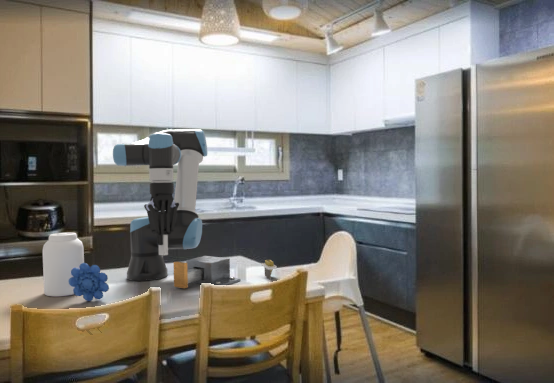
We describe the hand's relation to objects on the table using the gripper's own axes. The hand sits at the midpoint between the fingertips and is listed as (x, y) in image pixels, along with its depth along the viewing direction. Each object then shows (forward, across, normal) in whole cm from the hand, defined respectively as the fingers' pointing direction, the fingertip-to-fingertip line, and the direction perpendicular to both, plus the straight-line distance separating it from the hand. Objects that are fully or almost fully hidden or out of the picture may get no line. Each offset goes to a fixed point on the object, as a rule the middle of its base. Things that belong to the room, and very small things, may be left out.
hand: (163, 254), depth 144 cm
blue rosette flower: (+13, -18, +14) cm, 26 cm away
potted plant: (+13, +37, -16) cm, 43 cm away
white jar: (+13, -15, +32) cm, 38 cm away
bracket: (+13, +21, 0) cm, 25 cm away
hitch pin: (+12, +15, 0) cm, 19 cm away
